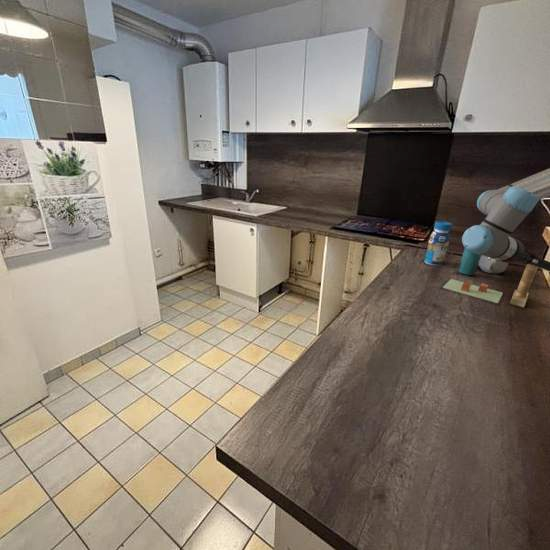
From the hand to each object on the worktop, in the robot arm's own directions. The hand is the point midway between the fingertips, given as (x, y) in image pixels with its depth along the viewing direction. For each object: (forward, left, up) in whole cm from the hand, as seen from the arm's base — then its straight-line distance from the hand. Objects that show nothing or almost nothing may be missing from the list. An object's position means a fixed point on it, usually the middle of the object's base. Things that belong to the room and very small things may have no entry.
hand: (538, 261), depth 97 cm
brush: (+1, -1, -17) cm, 17 cm away
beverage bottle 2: (+21, -17, -17) cm, 32 cm away
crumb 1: (+17, +3, -16) cm, 23 cm away
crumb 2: (+12, -1, -16) cm, 20 cm away
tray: (+15, +1, -17) cm, 22 cm away
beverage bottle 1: (+36, -23, -17) cm, 46 cm away
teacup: (+14, -30, -17) cm, 37 cm away
